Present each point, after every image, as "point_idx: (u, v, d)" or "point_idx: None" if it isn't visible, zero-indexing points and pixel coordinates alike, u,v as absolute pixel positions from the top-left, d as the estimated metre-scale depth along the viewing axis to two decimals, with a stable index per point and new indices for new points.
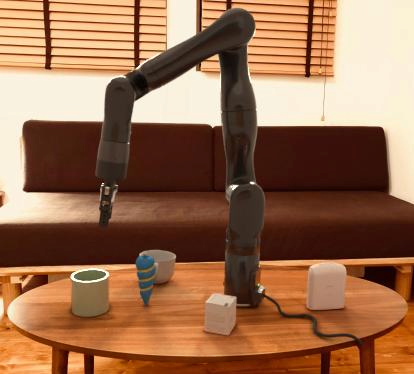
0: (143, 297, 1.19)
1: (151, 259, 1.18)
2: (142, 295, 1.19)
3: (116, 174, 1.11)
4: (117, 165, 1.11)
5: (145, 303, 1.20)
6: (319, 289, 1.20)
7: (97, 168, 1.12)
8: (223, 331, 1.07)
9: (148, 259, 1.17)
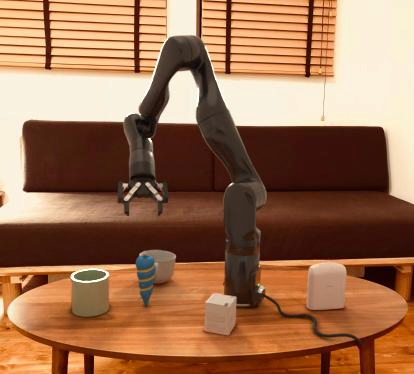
0: (143, 297, 1.19)
1: (151, 259, 1.18)
2: (142, 295, 1.19)
3: (130, 173, 1.34)
4: (130, 167, 1.35)
5: (145, 303, 1.20)
6: (319, 289, 1.20)
7: None
8: (223, 331, 1.07)
9: (148, 259, 1.17)
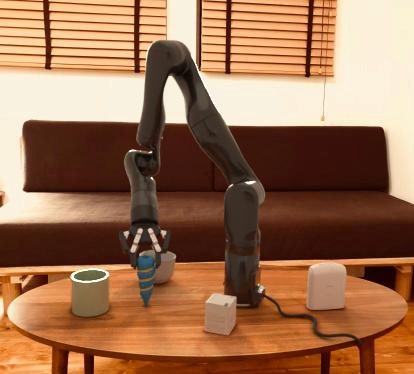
0: (143, 297, 1.19)
1: (151, 259, 1.18)
2: (142, 295, 1.19)
3: (131, 218, 1.23)
4: (131, 211, 1.24)
5: (145, 303, 1.20)
6: (319, 289, 1.20)
7: None
8: (223, 331, 1.07)
9: (148, 259, 1.17)
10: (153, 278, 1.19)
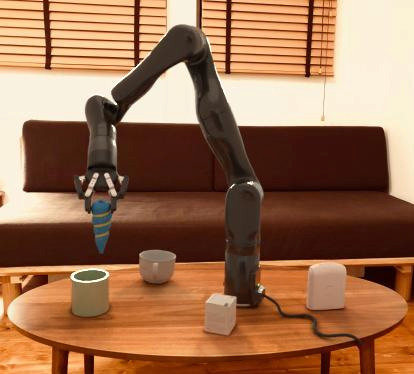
0: (97, 243, 1.15)
1: (107, 204, 1.13)
2: (97, 241, 1.15)
3: (88, 162, 1.19)
4: (88, 156, 1.20)
5: (100, 250, 1.16)
6: (319, 289, 1.20)
7: None
8: (223, 331, 1.07)
9: (104, 203, 1.13)
10: (108, 224, 1.15)
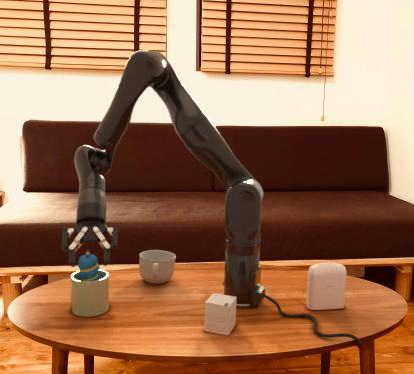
0: None
1: (93, 258, 1.15)
2: None
3: (77, 216, 1.20)
4: (77, 209, 1.22)
5: None
6: (319, 289, 1.20)
7: None
8: (223, 331, 1.07)
9: (90, 258, 1.15)
10: (96, 278, 1.16)
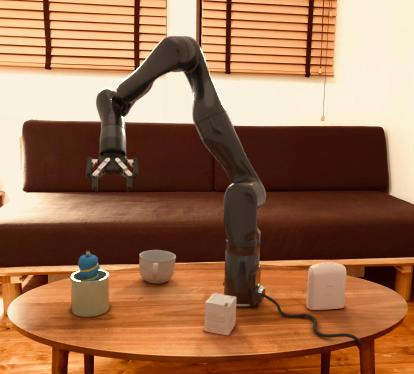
0: None
1: (94, 258, 1.15)
2: None
3: (100, 148, 1.31)
4: (100, 143, 1.32)
5: None
6: (319, 289, 1.20)
7: None
8: (223, 331, 1.07)
9: (90, 258, 1.15)
10: (96, 278, 1.16)
